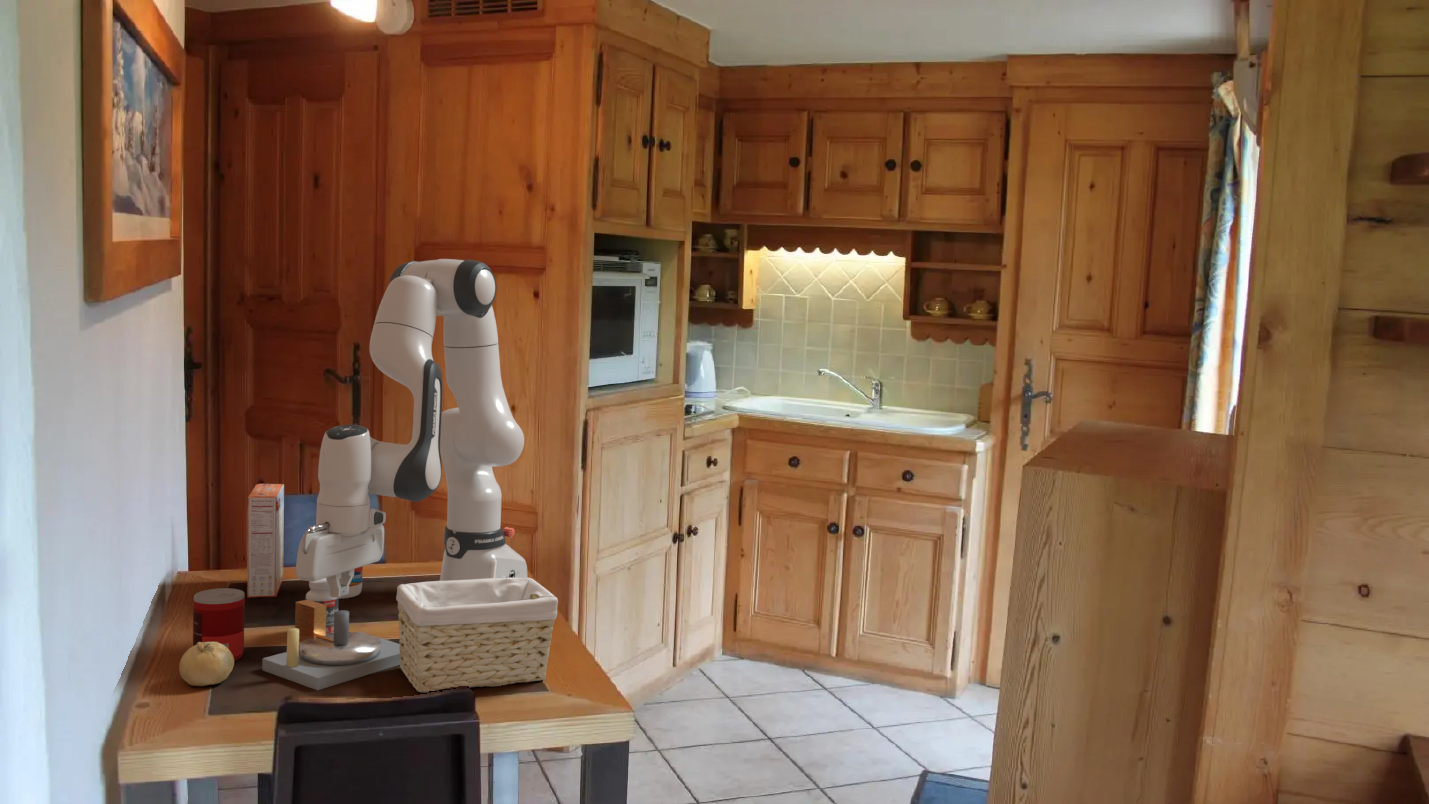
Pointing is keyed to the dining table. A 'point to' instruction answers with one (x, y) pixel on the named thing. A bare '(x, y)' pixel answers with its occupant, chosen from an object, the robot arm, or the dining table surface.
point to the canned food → (220, 618)
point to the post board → (328, 675)
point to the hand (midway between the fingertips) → (339, 595)
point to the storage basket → (474, 632)
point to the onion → (206, 664)
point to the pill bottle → (324, 600)
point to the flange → (330, 639)
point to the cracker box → (265, 540)
